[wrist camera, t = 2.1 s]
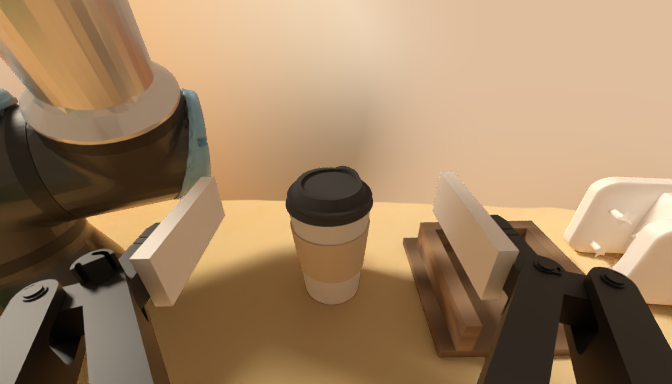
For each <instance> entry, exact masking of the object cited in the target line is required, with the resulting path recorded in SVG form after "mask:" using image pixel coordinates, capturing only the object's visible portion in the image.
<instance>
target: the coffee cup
mask: <svg viewBox="0 0 672 384" xmlns="http://www.w3.org/2000/svg"><path fill="white" fill-rule="evenodd" d="M372 206H373V198H372V192H371V189H370V188H369V186H368V185H367V184H366V183H365V182H363V181H362V180H361V179H360V177H359V175H358V173H357V172H356V171H355V170H354V169H351V168H349V167H346V166H339V167H336V168H318V169H313V170H310V171H308V172H305V173H303V174H302V175H301V176H300V177H299V178H298V179H297V181H295V182H294V183H293V184H292V185H291V186H290V188H289V190H288V192H287V199H286V209H287V211H288V212H289V214H290V217H291V222H290V224H291V229H292V234H293V238H294V242H295V246H296V251H297V255H298V259H299V263H300V267H301V269H302V272H303V276H304V281H305V285H306V289H307V291H308V293H309V294H310V296H311V297H312V298H314V299H315V300H317V301H319V302H321V303H324V304H340V303H343V302H346V301H348V300H349V299H351V298H352V297H353V296H354V295H355V293H356V292H357V289H358V285H359V279H360V272H361V268H362V266H363V261H364V255H365V248H366V242H367V236H368V229H369V223H370V220H369V213H370V210H371V208H372Z"/></svg>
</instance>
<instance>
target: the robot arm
mask: <svg viewBox="0 0 672 384" xmlns="http://www.w3.org/2000/svg"><path fill="white" fill-rule="evenodd" d="M0 57H1V58H2V59H3V60H4V61H5V62H6V63H7V65H8V66H9V67H10V68H11V70H12V71H13V72H14V73H15V74H16V75H17V77H18V78H19V79H20V80H21V81H22V83H23V84H24V85H25V86H26V87H25V89H24V90H23V92H22V94H21V97H20V101H19V105H17V102H18V100H17V99H16V98H15V97H13V96H12V95H11V94H10V93H9V92H8V91H6V90H4V89H0V384H77V380H78V377H79V373H80V369H81V365H82V362H83V358H84V354H85V351H86V354H87V366H88V379H89V384H170V381H169V378H168V375H167V372H166V368H165V365H164V362H163V359H162V356H161V352H160V349H159V346H158V343H157V340H156V336H155V333H154V330H153V327H152V324H151V320H150V317H149V314H148V311H147V309H146V307H145V304H146V303H147V301H148V300H149V298H151V300H152V302H153V304H154V306H155V307H160V306H173V305H174V303H175V302H176V300H177V298H178V296H179V295H180V293H181V291H182V289H183V288H184V286H185V284H186V282H187V281H188V279H189V277H190V276H191V274H192V272H193V270H194V269H195V267H196V265H197V263H198V262H199V260H200V258H201V256H202V255H203V253H204V251H205V249H206V248H207V246H208V244H209V242H210V241H211V239H212V237H213V235H214V234H215V232H216V230H217V228H218V227H219V225H220V223H221V222H222V220H223V218H224V216H225V214H224V210H223V206H222V203H221V199H220V195H219V192H218V188H217V184H216V181H215V177H211V164H210V154H209V148H208V143H207V137H206V129H205V123H204V118H203V114H202V109H201V105H200V102H199V98H198V96H197V94H196V93H195V92H194V91H192V90H186V89H183V88H181V89H180V88H179V85H178V82H177V81H176V79H175V77H174V76H173V75H172V74H171V73H170V72H169V71H168V70H167V69H166V68H164V67H162V66H161V65H159V64H157V63H155V62H153V61H151V59H150V57H149V54H148V52H147V49H146V47H145V44H144V41H143V39H142V36H141V34H140V31H139V28H138V26H137V23H136V21H135V18H134V15H133V13H132V10H131V8H130V5H129V2H128V0H0ZM182 196H184V197H183V198H182V199H181V201H180V202H179V203H178V204H177V205H176V206H175V207H174V209H173V210H172V211H171V212H170V213H169V214H168V215H167V216H166V218H165V219H164V220H163V221H162V222H161V223H155V224H153V225H152V226H150V227H149V228H147V229H146V230H145V231H144V232H143V233H142V234H141V235H140V236H139V238H137V239H136V241H135V242H134V243H133V245H131V246H130V247H129V248H128V249H127V250H126V251H124V249H123V248H122V247H121V246H120V245H118V244H117V243H115V242H114V241H113V240H111V239H110V238H109V237H107V236H106V235H105V234H103V233H102V232H101V231H99V230H98V229H96V228H95V227H94V226H92V225H91V224H90V223H89V222H88V221H87V220H86V217H90V216H95V215H100V214H105V213H109V212H114V211H119V210H124V209H129V208H134V207H138V206H143V205H148V204H153V203H158V202H162V201H167V200H172V199H179V198H181V197H182ZM433 213H434V214H435V216H436V218H437V220H438V222H439V224H440V226H441V227H442V229H443V231H444V233H445V235H446V237H447V238H448V240H449V242H450V244H451V246H452V248H453V250H454V251H455V253H456V255H457V257H458V259H459V261H460V262H461V264H462V266H463V268H464V270H465V272H466V274H467V275H468V277H469V279H470V281H471V283H472V285H473V287H474V288H475V290H476V292H477V294H478V296H479V298H480V299H481V300H499V298H500V295H501V293H502V291H503V290H504V292H505V293H506V295H507V297H508V299H507V302H506V304H505V306H504V308H503V310H502V313H501V318H500V321H499V324H498V326H497V329H496V332H495V335H494V338H493V340H492V343H491V346H490V349H489V352H488V354H487V357H486V360H485V363H484V366H483V368H482V371H481V374H480V377H479V380H478V382H477V384H549V383H550V376H551V370H552V364H553V357H554V351H555V345H556V338H557V332H558V326H559V323H562V324H563V326H564V330H565V335H566V339H567V344H568V348H569V352H570V357H571V361H572V365H573V370H574V374H575V378H576V383H577V384H672V350H671V348H670V346H669V344H668V342H667V340H666V339H665V337H664V335H663V333H662V331H661V329H660V328H659V326H658V324H657V322H656V320H655V318H654V317H653V315H652V313H651V311H650V309H649V307H648V305H647V304H646V302H645V300H644V298H643V296H642V294H641V293H640V291H639V289H638V287H637V286H636V285H635V283H634V282H633V281H632V280H631V279H629V278H628V277H627V276H625V275H623V274H622V273H619V272H617V271H615V270H612V269H609V268H604V267H594V268H592V269H591V270H590V271H589V273H588V274H587V275H583V274H578V273H573V272H568V271H565V270H564V268H563V267H562V266H561V265H560V264H558V263H557V262H556V261H554V260H552V259H550V258H548V257H544V256H540V255H537V254H536V252H535V251H534V250H533V249H532V248H531V247H530V246H529V245H528V244H527V242H526V241H525V240H524V239H523V238H522V237H521V236H519V234H518V232H517V231H516V230H514V228H513V227H512V226H511V225H510V224H509V222H508V221H506V220H505V219H503V218H502V217H500V216H499V215H489V214H488V213H487V211H486V210H485V209H484V208H483V207H482V205H481V204H480V203H479V202H478V201H477V200H476V198H475V197H474V196H473V195H472V193H471V192H470V191H469V190H468V189H467V187H466V186H465V185H464V184H463V183H462V181H461V180H460V179H459V178H458V177H457V175H456V174H455V173H454V172H440V175H439V181H438V186H437V192H436V196H435V201H434V206H433Z"/></svg>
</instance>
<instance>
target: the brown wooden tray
mask: <svg viewBox="0 0 672 384" xmlns="http://www.w3.org/2000/svg"><path fill="white" fill-rule="evenodd" d="M508 222H509V224H510V225H511V226H512V227H513V228H514V230H516V231H517V232H518V234H519V236H521V237H522V238H523V239H524V240H525V241H526V242H527V244H528V245H529V246H530V247H531V248H532V249H533V250H534V251H535V252H536V254H537V255H540V256H544V257H548V258H550V259H552V260H554V261H556V262H557V263H558V264H560V265H561V266H562V267H563V268H564V270H565V271H568V272H573V273H578V274H583V275H585V274H584V273H583V272H582V271H581V270H580V269H579V268H578V267H577V266H576V265H575V264H574V263H573V262H572V261H571V260H570V259H569V258H568V257H567V256H566V255H565V254H564V253H563V252H562V251H561V250H560V249H559V248H558V247H557V246H556V245H555V244H554V243H553V242H552V241H551V240H550V239H549V238H548V237H547V236H546V235H545V234H544V233H543V232H542V231H541V230H540V229H539V228H538V227H537V226H536V225H535V224H534V223H533V222H532V221H508ZM403 245H404V248H405V251H406V254H407V258H408V261H409V264H410V267H411V270H412V273H413V277H414V280H415V283H416V286H417V289H418V292H419V296H420V299H421V302H422V305H423V308H424V311H425V315H426V318H427V321H428V324H429V327H430V330H431V334H432V337H433V340H434V343H435V346H436V349H437V353H438V356H439V357H471V356H487V354H488V352H489V349H490V346H491V343H492V340H493V338H494V335H495V332H496V329H497V326H498V324H499V321H500V318H501V313H502V310H503V308H504V306H505V304H506V302H507V299H508V297H507V295H506V293H505V292H504V290H503V291H502V293H501V295H500V298H499V300H481V299H480V298H479V296H478V294H477V292H476V290H475V288H474V287H473V285H472V283H471V281H470V279H469V277H468V275H467V274H466V272H465V270H464V268H463V266H462V264H461V262H460V261H459V259H458V257H457V255H456V253H455V251H454V250H453V248H452V246H451V244H450V242H449V240H448V238H447V237H446V235H445V233H444V231H443V229H442V227H441V226H440V224H439V222H425V223H420V228H419V234H418V238H404V239H403ZM554 355H570V352H569V348H568V344H567V339H566V335H565V330H564V326H563V324H562V323H559V326H558V332H557V338H556V345H555V351H554Z"/></svg>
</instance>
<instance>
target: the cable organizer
mask: <svg viewBox="0 0 672 384" xmlns="http://www.w3.org/2000/svg"><path fill="white" fill-rule="evenodd" d="M563 238H564V240H565V241H566V242H567V243H568V245H569V246H570V247H571V248H573V249H575V250H577V251H578V252H587V253H596V255H595V257H596V256H598V255H604V256H605V252H606V253H622V254H624V255H623V256H622V258H621V259H620V260H619V261H618V262H617V263H616V264H615V265H614V266H612V267H608V268H609V269H612V270H615V271H617V272H619V273H622V274H623V275H625V276H627V277H628V278H629V279H631V280H632V281H633V282H634V283H635V285H636V286H637V287H638V289H639V291H640V293H641V294H642V296H643V298H644V300H645V302H646V303H648V304H660V305H672V179H657V178H631V177H608V178H604V179H601V180H599V181H596V182H595V183H593V184H592V185H591V186H590V187H589V189H588V191H587V193H586V194H585V196H584V198H583V200H582V202H581V203H580V205H579V208H578V209H577V211H576V213H575V215H574V216H573V218H572V220H571V222H570V224H569V226H568V227H567V229H566V231H565V233H564V236H563ZM595 257H594V258H595Z"/></svg>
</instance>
